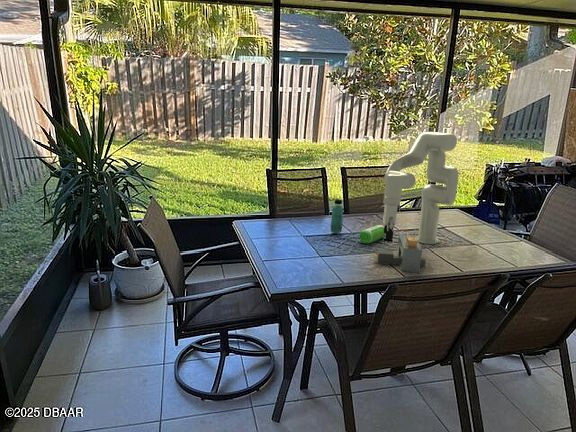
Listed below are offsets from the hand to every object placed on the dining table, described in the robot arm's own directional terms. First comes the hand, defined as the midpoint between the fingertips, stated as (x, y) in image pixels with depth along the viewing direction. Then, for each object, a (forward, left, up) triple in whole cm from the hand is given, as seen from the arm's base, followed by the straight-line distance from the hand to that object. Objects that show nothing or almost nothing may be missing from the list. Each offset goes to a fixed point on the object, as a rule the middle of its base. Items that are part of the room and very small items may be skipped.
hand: (388, 236), depth 198 cm
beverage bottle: (-37, -25, -13) cm, 47 cm away
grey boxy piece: (0, +10, -13) cm, 17 cm away
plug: (0, +6, -13) cm, 14 cm away
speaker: (-31, -4, -13) cm, 34 cm away
